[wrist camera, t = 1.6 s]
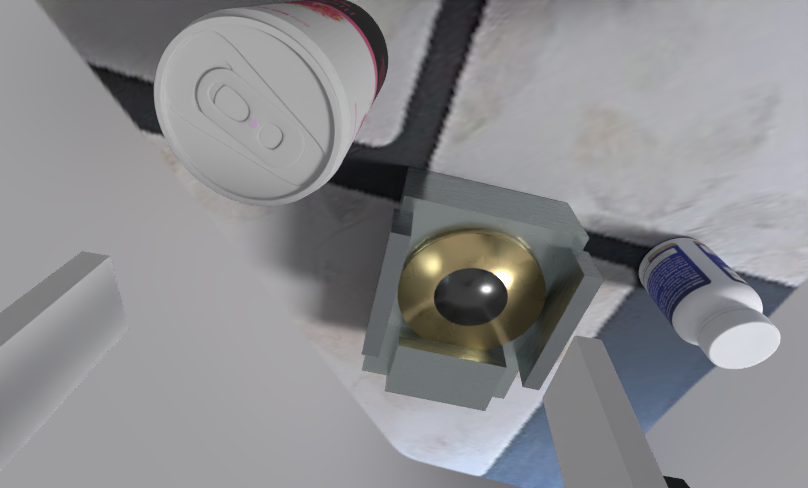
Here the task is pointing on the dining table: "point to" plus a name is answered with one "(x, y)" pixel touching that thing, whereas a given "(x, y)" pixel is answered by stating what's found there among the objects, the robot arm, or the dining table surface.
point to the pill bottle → (708, 303)
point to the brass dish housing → (475, 290)
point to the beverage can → (269, 95)
